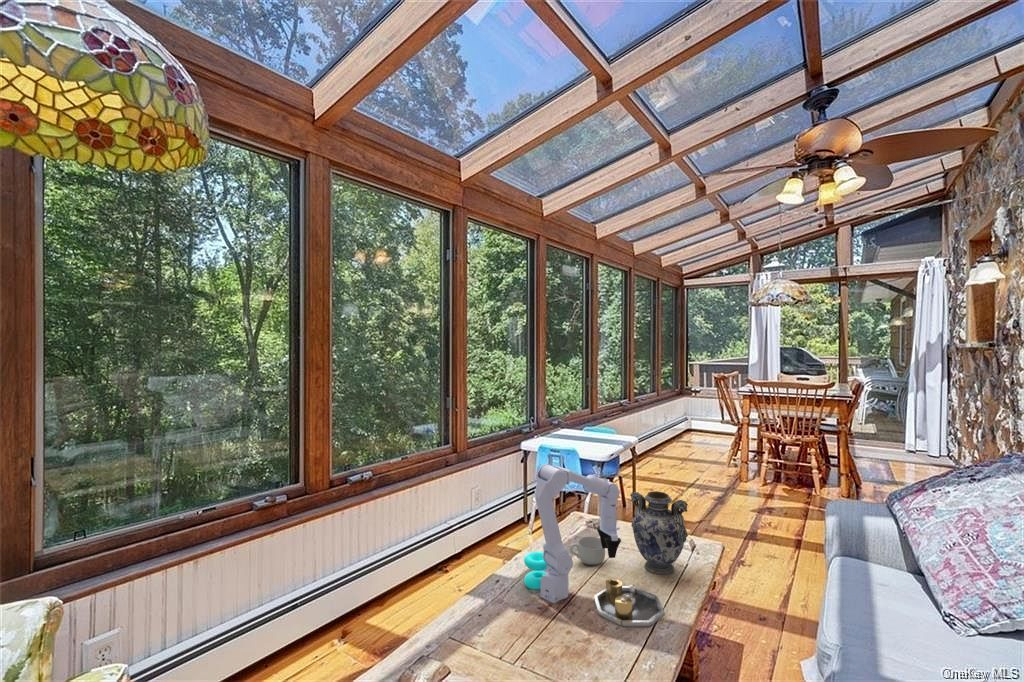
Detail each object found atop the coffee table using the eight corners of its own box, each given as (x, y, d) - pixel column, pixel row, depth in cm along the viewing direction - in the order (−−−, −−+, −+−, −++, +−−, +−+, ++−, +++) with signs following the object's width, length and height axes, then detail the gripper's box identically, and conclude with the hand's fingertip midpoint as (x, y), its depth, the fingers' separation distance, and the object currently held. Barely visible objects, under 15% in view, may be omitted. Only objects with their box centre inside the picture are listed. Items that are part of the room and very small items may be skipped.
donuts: (536, 566, 160) (518, 555, 168) (536, 595, 160) (518, 583, 168) (558, 557, 166) (539, 547, 174) (558, 586, 166) (540, 574, 174)
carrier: (639, 639, 136) (639, 616, 136) (581, 609, 151) (581, 589, 151) (674, 609, 151) (674, 589, 151) (618, 585, 166) (618, 566, 166)
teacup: (604, 556, 188) (604, 536, 188) (607, 569, 178) (606, 548, 178) (569, 555, 190) (569, 535, 190) (570, 568, 179) (569, 547, 179)
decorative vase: (693, 563, 181) (692, 491, 180) (684, 586, 165) (682, 507, 164) (638, 551, 192) (636, 483, 191) (624, 572, 176) (622, 497, 175)
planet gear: (614, 604, 153) (614, 588, 153) (602, 596, 157) (602, 581, 157) (625, 599, 155) (625, 583, 155) (613, 592, 160) (613, 577, 160)
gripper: (626, 522, 163) (626, 561, 163) (612, 507, 177) (612, 543, 177) (606, 523, 162) (606, 562, 162) (594, 508, 177) (594, 544, 177)
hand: (608, 552), depth 170 cm, fingers open, 7 cm apart
